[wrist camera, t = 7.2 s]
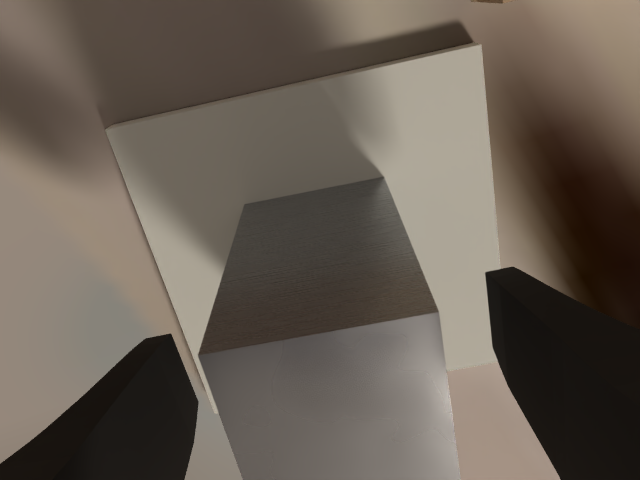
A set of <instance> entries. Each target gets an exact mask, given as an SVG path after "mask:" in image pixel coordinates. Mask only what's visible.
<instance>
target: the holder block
mask: <svg viewBox="0 0 640 480" xmlns="http://www.w3.org/2000/svg"><path fill="white" fill-rule="evenodd" d="M511 1H516V0H471V2H487V3H507V2H511Z"/></svg>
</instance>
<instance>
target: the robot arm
mask: <svg viewBox="0 0 640 480" xmlns="http://www.w3.org/2000/svg"><path fill="white" fill-rule="evenodd" d="M485 277H486V287H487V297H488V307H489V317H490V327H491V337H492V347H493V350H494V352H495V355H496V358H497V360H498V363H499V365H500V368H501V370H502V373H503V375H504V377H505V380H506V382H507V385H508V387H509V388H510V390H511V392H512V394H513V396H514V398H515V399H516V401H517V403H518V405H519V406H520V408H521V410H522V412H523V413H524V415H525V417H526V419H527V421H528V422H529V424H530V426H531V428H532V429H533V431H534V433H535V434H536V436H537V438H538V440H539V441H540V443H541V445H542V447H543V448H544V450H545V452H546V454H547V455H548V457H549V459H550V461H551V462H552V464H553V466H554V468H555V469H556V471H557V473H558V475H559V477H560V479H561V480H640V329H637V328H635V327H632V326H630V325H627V324H625V323H623V322H621V321H618V320H616V319H614V318H612V317H609V316H607V315H605V314H603V313H600V312H598V311H596V310H594V309H592V308H590V307H588V306H586V305H584V304H582V303H580V302H578V301H576V300H574V299H572V298H570V297H568V296H566V295H565V294H563V293H561V292H559V291H557V290H555V289H553V288H552V287H550V286H548V285H546V284H544V283H543V282H541V281H539V280H537V279H535V278H534V277H532V276H530V275H528V274H526V273H525V272H523V271H521V270H519V269H517V268H515V267H508V268H503V269H498V270H493V271H488V272H485ZM197 411H198V400H197V397H196V395H195V392H194V390H193V387H192V385H191V382H190V380H189V377H188V375H187V372H186V370H185V367H184V365H183V362H182V360H181V357H180V355H179V352H178V350H177V347H176V345H175V342H174V340H173V337H172V335H171V334H166V335H161V336H156V337H151V338H146V339H145V340H143V341H142V342H141V343H140V344H138V345H137V346H136V347H135V348H134V349H132V351H130V352H129V353H128V354H127V355H126V356H125V357H124V358H123V359H122V360H121V361H119V362H118V363H117V364H116V365H115V366H114V367H113V368H112V369H111V370H110V371H109V372H108V373H107V374H106V375H105V376H104V377H103V378H102V379H100V380H99V381H98V382H97V383H96V384H95V385H94V386H93V387H92V388H91V389H90V390H89V391H88V392H87V393H86V394H85V395H83V396H82V397H81V398H80V399H79V400H78V401H77V402H75V403H74V404H73V405H72V406H71V407H70V408H69V409H68V410H66V411H65V412H64V413H63V414H62V415H61V416H60V417H58V418H57V419H56V420H55V421H54V422H53V423H52V424H50V425H49V426H48V427H47V428H46V429H45V430H43V431H42V432H41V433H40V434H39V435H37V436H36V437H35V438H34V439H32V440H31V441H30V442H29V443H27V444H26V445H25V446H23V447H22V448H21V449H20V450H18V451H17V452H15V453H14V454H13V455H12V456H10V457H9V458H7V459H6V460H5V461H3V462H2V463H1V464H0V480H184V479H185V475H186V471H187V467H188V463H189V459H190V455H191V451H192V447H193V443H194V436H195V429H196V421H197Z"/></svg>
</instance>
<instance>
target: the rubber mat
mask: <svg viewBox="0 0 640 480" xmlns="http://www.w3.org/2000/svg"><path fill="white" fill-rule="evenodd" d="M105 131H106V134H107V136H108V139H109V142H110V144H111V147H112V149H113V152H114V154H115V157H116V160H117V162H118V165H119V167H120V170H121V173H122V175H123V178H124V180H125V183H126V185H127V188H128V191H129V193H130V196H131V198H132V201H133V204H134V206H135V209H136V211H137V214H138V216H139V219H140V222H141V224H142V227H143V229H144V232H145V234H146V237H147V240H148V242H149V245H150V247H151V250H152V253H153V255H154V258H155V260H156V263H157V265H158V268H159V271H160V273H161V276H162V278H163V281H164V284H165V286H166V289H167V291H168V294H169V296H170V299H171V302H172V304H173V307H174V309H175V312H176V315H177V317H178V320H179V322H180V325H181V327H182V330H183V333H184V335H185V338H186V340H187V343H188V346H189V348H190V351H191V353H192V356H193V358H194V361H195V364H196V366H197V369H198V371H199V374H200V376H201V379H202V382H203V384H204V387H205V389H206V392H207V395H208V397H209V400H210V402H211V405H212V407H213V410H214V413H215V414H217V413H219V412H218V410H217V407H216V404H215V401H214V399H213V396H212V393H211V390H210V388H209V385H208V382H207V379H206V377H205V374H204V371H203V369H202V366H201V363H200V360H199V358H198V353H199V350H200V347H201V343H202V340H203V337H204V334H205V330H206V327H207V324H208V321H209V317H210V314H211V311H212V308H213V304H214V301H215V298H216V295H217V291H218V288H219V285H220V282H221V278H222V275H223V272H224V269H225V265H226V262H227V259H228V256H229V252H230V249H231V246H232V243H233V239H234V236H235V233H236V230H237V226H238V223H239V220H240V217H241V213H242V210H243V207H244V204H248V203H253V202H258V201H263V200H268V199H273V198H278V197H283V196H288V195H293V194H298V193H303V192H308V191H313V190H318V189H323V188H328V187H333V186H338V185H344V184H349V183H354V182H359V181H364V180H369V179H374V178H379V177H384V178H385V180H386V183H387V185H388V188H389V190H390V192H391V195H392V197H393V200H394V202H395V205H396V207H397V210H398V212H399V215H400V217H401V220H402V222H403V224H404V227H405V229H406V232H407V234H408V237H409V239H410V242H411V244H412V247H413V249H414V252H415V254H416V256H417V259H418V261H419V264H420V266H421V269H422V271H423V274H424V276H425V279H426V281H427V284H428V286H429V289H430V291H431V293H432V296H433V298H434V301H435V303H436V306H437V308H438V311H439V316H440V323H441V331H442V339H443V346H444V354H445V362H446V370H447V371H452V370H457V369H463V368H468V367H474V366H479V365H484V364H490V363H495V362H498V360H497V358H496V355H495V352H494V350H493V347H492V337H491V327H490V317H489V307H488V297H487V287H486V277H485V272H488V271H493V270H498V269H501V267H500V256H499V244H498V232H497V221H496V209H495V197H494V186H493V174H492V163H491V151H490V139H489V128H488V116H487V104H486V93H485V81H484V70H483V58H482V46H481V44H478V43H475V42H474V43H470V44H465V45H461V46H457V47H452V48H448V49H443V50H439V51H435V52H430V53H426V54H421V55H417V56H413V57H408V58H404V59H399V60H395V61H391V62H386V63H382V64H377V65H373V66H369V67H364V68H360V69H355V70H351V71H347V72H342V73H338V74H333V75H329V76H325V77H320V78H316V79H311V80H307V81H303V82H298V83H294V84H289V85H285V86H281V87H276V88H272V89H267V90H263V91H259V92H254V93H250V94H245V95H241V96H237V97H232V98H228V99H223V100H219V101H215V102H210V103H206V104H201V105H197V106H193V107H188V108H184V109H179V110H175V111H170V112H166V113H162V114H157V115H153V116H148V117H144V118H140V119H135V120H131V121H126V122H122V123H118V124H113V125H111V126H110V127H108V128H107V129H105Z"/></svg>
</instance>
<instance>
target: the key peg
mask: <svg viewBox="0 0 640 480" xmlns="http://www.w3.org/2000/svg"><path fill="white" fill-rule="evenodd" d="M198 358H199V360H200V363H201V366H202V369H203V371H204V374H205V377H206V379H207V382H208V385H209V388H210V390H211V393H212V396H213V399H214V401H215V404H216V407H217V410H218V412H219V415H220V418H221V421H222V423H223V426H224V429H225V431H226V434H227V437H228V440H229V442H230V445H231V448H232V451H233V453H234V456H235V459H236V461H237V464H238V467H239V470H240V472H241V475H242V478H243V480H461V478H460V470H459V462H458V454H457V447H456V439H455V431H454V424H453V416H452V408H451V400H450V393H449V385H448V377H447V370H446V362H445V354H444V346H443V339H442V331H441V323H440V316H439V311H438V308H437V306H436V303H435V301H434V298H433V296H432V293H431V291H430V289H429V286H428V284H427V281H426V279H425V276H424V274H423V271H422V269H421V266H420V264H419V261H418V259H417V256H416V254H415V252H414V249H413V247H412V244H411V242H410V239H409V237H408V234H407V232H406V229H405V227H404V224H403V222H402V220H401V217H400V215H399V212H398V210H397V207H396V205H395V202H394V200H393V197H392V195H391V192H390V190H389V188H388V185H387V183H386V180H385V178H384V177H379V178H374V179H369V180H364V181H359V182H354V183H349V184H344V185H338V186H333V187H328V188H323V189H318V190H313V191H308V192H303V193H298V194H293V195H288V196H283V197H278V198H273V199H268V200H263V201H258V202H253V203H248V204H244V207H243V210H242V213H241V217H240V220H239V223H238V226H237V230H236V233H235V236H234V239H233V243H232V246H231V249H230V252H229V256H228V259H227V262H226V265H225V269H224V272H223V275H222V278H221V282H220V285H219V288H218V291H217V295H216V298H215V301H214V304H213V308H212V311H211V314H210V317H209V321H208V324H207V327H206V330H205V334H204V337H203V340H202V343H201V347H200V350H199V353H198Z"/></svg>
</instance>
